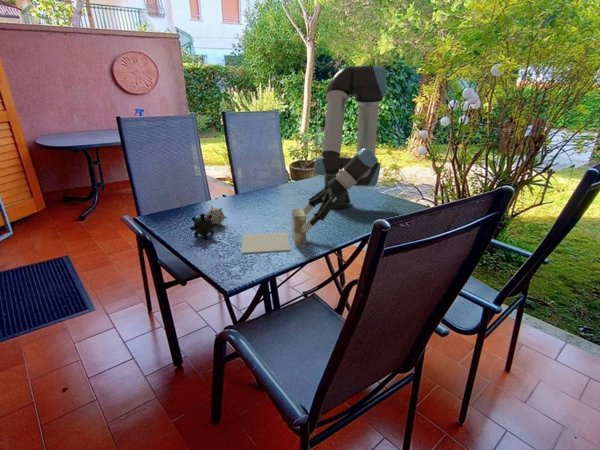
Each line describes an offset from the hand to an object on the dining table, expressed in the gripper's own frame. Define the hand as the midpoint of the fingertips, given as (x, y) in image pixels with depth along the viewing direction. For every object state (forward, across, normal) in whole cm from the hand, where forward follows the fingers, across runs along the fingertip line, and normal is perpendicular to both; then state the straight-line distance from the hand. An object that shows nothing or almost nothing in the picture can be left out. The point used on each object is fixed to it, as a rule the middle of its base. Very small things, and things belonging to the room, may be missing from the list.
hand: (301, 223), depth 130 cm
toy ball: (+33, -11, -22) cm, 41 cm away
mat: (+15, 0, -4) cm, 16 cm away
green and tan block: (+6, 0, +5) cm, 8 cm away
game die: (+30, -23, -19) cm, 42 cm away
